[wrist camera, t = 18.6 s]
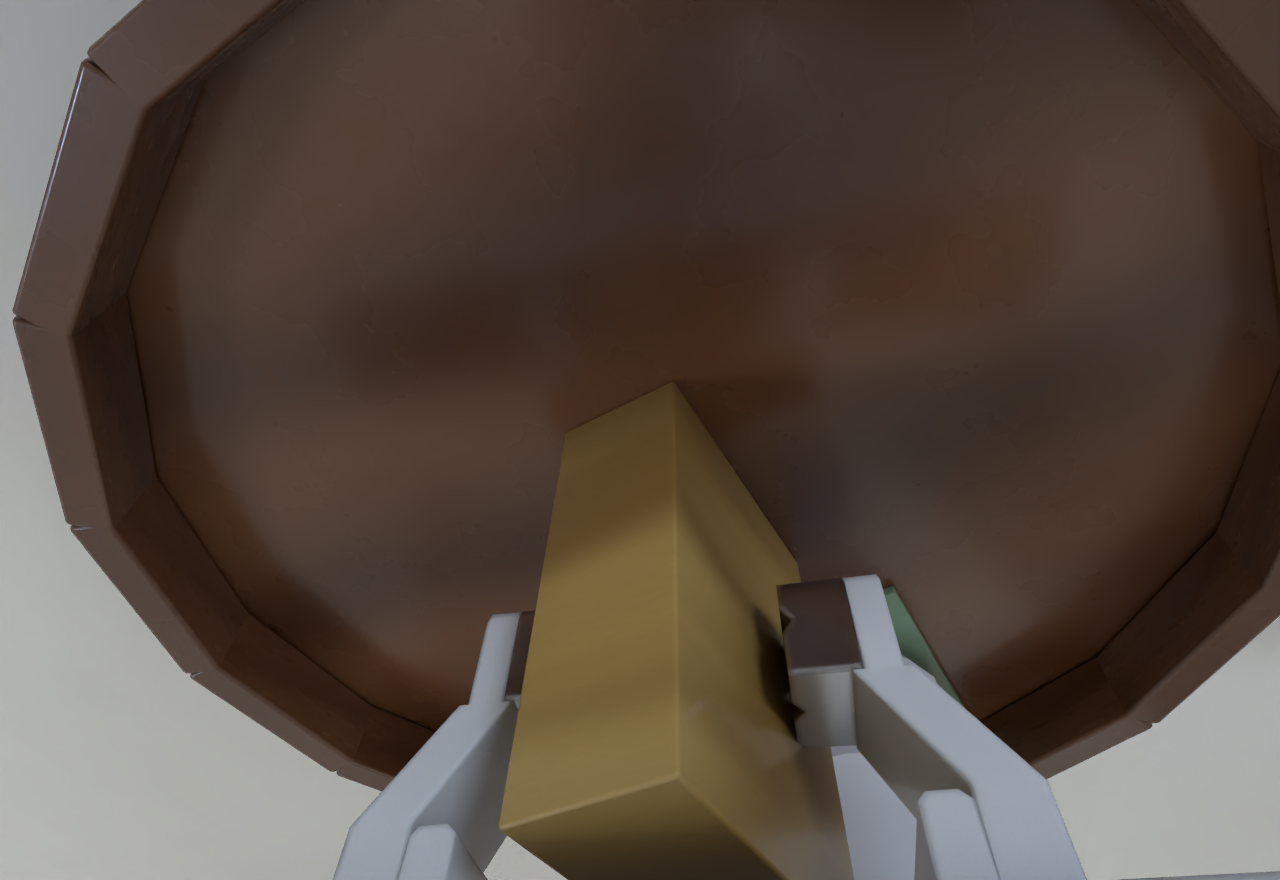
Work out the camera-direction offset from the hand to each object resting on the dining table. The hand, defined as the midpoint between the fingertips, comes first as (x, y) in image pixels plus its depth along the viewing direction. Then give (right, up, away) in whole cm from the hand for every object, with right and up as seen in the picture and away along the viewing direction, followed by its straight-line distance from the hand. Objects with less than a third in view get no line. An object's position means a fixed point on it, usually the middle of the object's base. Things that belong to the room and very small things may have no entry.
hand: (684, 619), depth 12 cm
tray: (0, +2, +3) cm, 4 cm away
